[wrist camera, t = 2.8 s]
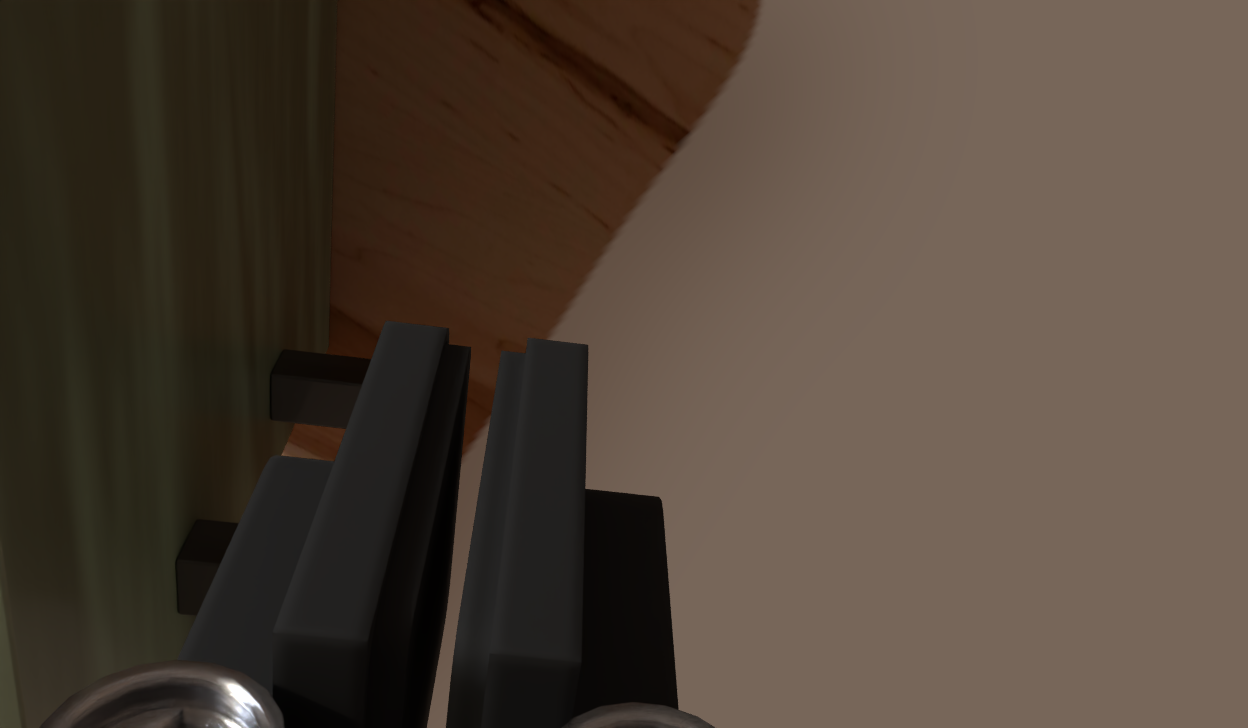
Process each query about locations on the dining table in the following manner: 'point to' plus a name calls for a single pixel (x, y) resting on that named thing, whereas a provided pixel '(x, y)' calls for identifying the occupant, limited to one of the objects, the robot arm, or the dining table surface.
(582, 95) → the dining table surface
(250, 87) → the cupboard door
